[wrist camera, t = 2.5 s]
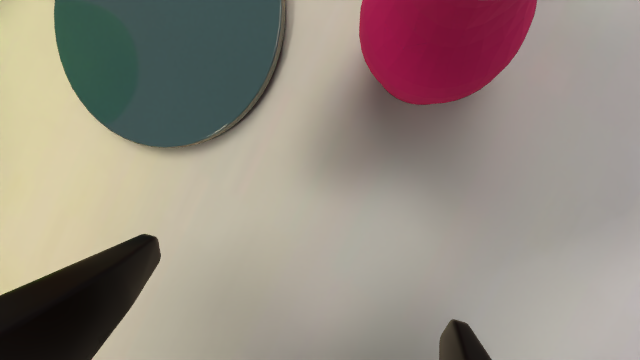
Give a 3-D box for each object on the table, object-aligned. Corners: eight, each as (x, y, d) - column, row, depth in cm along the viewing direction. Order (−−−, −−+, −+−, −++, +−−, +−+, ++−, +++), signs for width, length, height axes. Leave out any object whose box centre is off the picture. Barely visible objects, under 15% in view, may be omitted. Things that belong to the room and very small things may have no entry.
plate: (334, 62, 20) (332, 57, 18) (141, 189, 23) (128, 191, 22) (205, -169, 20) (194, -189, 19) (33, -7, 24) (15, -15, 22)
